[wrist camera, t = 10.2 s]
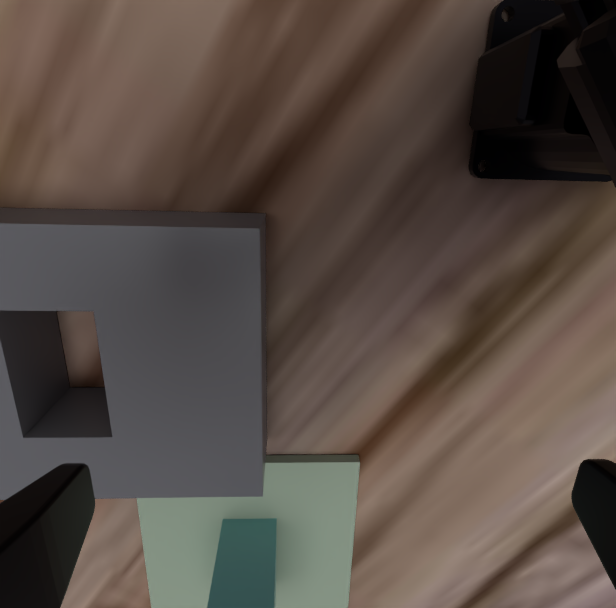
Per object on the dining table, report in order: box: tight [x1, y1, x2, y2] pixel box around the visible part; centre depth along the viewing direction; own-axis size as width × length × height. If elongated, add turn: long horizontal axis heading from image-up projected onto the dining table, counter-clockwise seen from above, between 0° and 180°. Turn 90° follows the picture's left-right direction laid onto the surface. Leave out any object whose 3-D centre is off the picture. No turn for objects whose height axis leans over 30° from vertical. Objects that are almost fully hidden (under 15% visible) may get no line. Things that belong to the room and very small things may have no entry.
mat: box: [137, 455, 360, 608], centre depth 25 cm, size 12×12×1 cm
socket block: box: [0, 208, 267, 500], centre depth 19 cm, size 16×12×4 cm
